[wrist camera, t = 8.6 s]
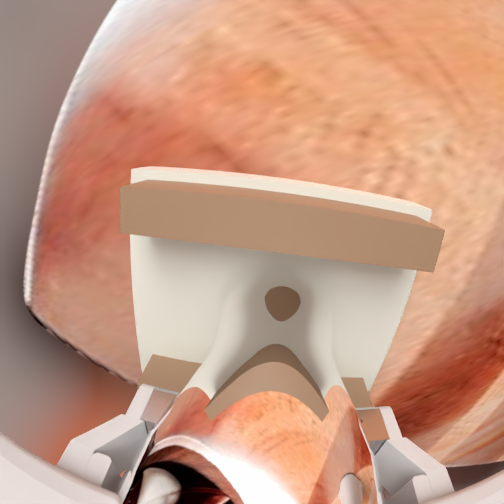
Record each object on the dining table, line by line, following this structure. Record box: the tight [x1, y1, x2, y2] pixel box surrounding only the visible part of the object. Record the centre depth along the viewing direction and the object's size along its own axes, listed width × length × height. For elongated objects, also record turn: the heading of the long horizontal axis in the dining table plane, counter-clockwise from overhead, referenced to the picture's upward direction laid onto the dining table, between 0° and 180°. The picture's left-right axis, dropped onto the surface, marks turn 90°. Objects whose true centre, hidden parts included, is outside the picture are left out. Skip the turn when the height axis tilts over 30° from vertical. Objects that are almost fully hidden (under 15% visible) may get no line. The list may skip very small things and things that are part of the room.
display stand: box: [120, 166, 445, 408], centre depth 16 cm, size 16×14×6 cm
